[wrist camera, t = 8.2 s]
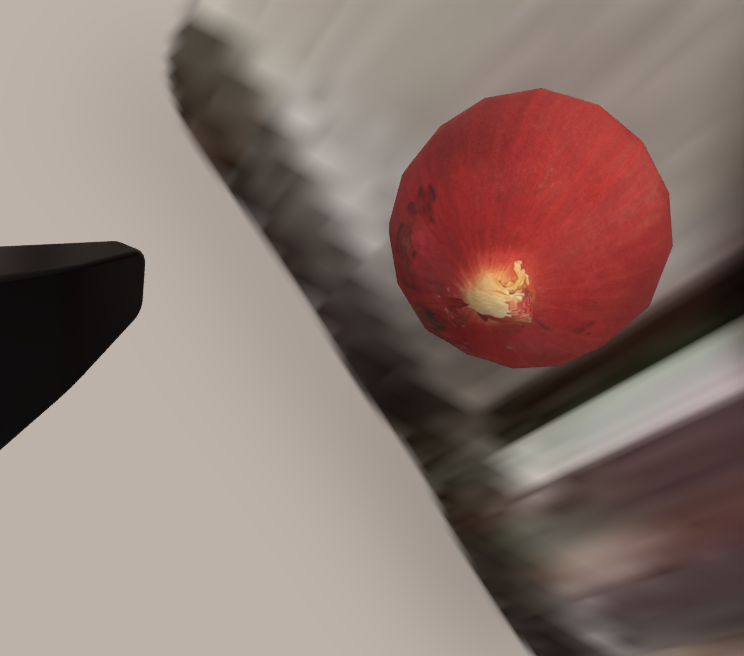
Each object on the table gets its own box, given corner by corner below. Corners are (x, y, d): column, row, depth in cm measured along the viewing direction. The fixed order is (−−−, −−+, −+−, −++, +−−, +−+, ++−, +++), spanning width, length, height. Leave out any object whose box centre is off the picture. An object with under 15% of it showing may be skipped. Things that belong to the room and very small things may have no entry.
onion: (505, 324, 20) (428, 492, 14) (402, 150, 19) (262, 240, 13) (709, 234, 17) (739, 391, 11) (600, 23, 16) (556, 51, 10)
